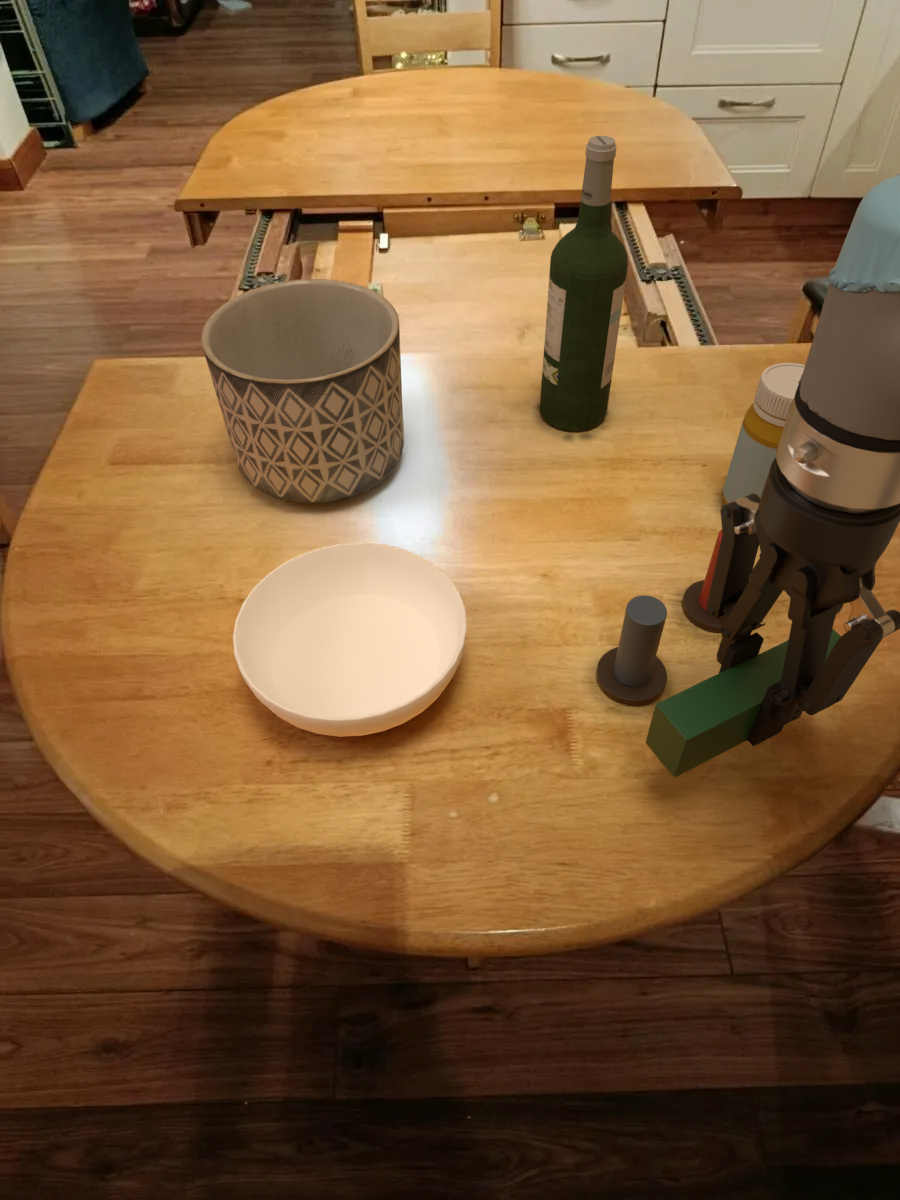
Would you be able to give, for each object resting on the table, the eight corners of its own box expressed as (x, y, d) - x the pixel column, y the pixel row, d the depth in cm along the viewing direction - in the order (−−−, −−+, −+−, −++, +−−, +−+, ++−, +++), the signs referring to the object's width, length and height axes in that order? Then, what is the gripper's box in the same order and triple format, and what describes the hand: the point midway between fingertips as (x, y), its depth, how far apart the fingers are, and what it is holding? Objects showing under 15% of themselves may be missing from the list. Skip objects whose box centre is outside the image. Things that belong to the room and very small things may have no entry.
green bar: (839, 693, 66) (860, 652, 63) (674, 778, 61) (686, 740, 58) (806, 662, 68) (825, 621, 65) (644, 742, 64) (655, 703, 60)
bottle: (750, 535, 86) (793, 411, 75) (706, 495, 90) (740, 372, 79) (803, 513, 88) (852, 390, 77) (758, 475, 92) (798, 352, 81)
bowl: (223, 758, 69) (206, 715, 65) (271, 584, 82) (259, 538, 78) (462, 768, 68) (461, 725, 64) (471, 590, 81) (472, 544, 77)
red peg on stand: (760, 609, 79) (787, 540, 72) (721, 643, 76) (745, 574, 70) (707, 575, 82) (729, 505, 75) (668, 606, 79) (686, 537, 73)
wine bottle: (535, 395, 103) (553, 126, 80) (599, 391, 103) (635, 123, 81) (543, 434, 97) (565, 159, 75) (612, 431, 98) (654, 155, 75)
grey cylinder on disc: (679, 679, 74) (701, 611, 67) (635, 718, 71) (652, 651, 64) (626, 640, 77) (641, 571, 70) (581, 676, 74) (593, 608, 68)
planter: (433, 488, 91) (428, 353, 79) (259, 537, 87) (224, 402, 74) (375, 394, 103) (363, 264, 91) (219, 433, 99) (184, 301, 86)
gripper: (694, 417, 51) (639, 659, 69) (911, 591, 41) (783, 824, 59) (788, 383, 54) (712, 625, 71) (1016, 540, 44) (863, 778, 61)
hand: (744, 715), depth 65 cm, fingers closed on green bar, 3 cm apart
